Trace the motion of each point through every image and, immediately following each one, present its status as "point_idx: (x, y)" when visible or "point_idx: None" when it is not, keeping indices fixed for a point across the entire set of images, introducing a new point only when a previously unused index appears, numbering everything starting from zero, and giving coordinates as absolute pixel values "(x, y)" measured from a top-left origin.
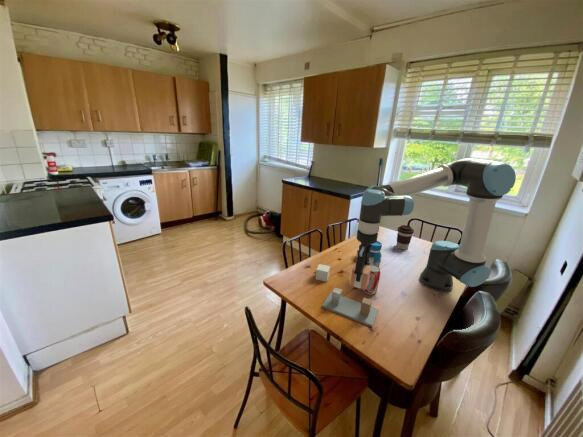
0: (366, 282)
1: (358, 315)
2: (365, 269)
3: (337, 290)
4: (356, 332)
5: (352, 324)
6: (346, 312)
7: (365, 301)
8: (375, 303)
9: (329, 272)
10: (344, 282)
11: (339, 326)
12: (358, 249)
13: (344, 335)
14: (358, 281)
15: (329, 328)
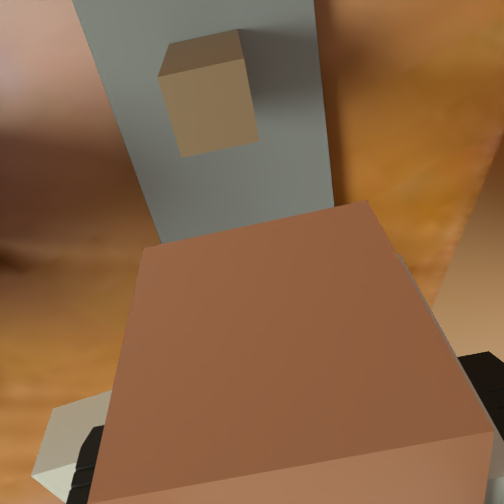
0: (408, 279)
1: (277, 95)
2: None
3: None
4: (431, 20)
5: (370, 85)
6: (306, 174)
7: (225, 118)
8: (7, 61)
9: (50, 432)
10: (18, 331)
11: (437, 140)
12: None
13: (500, 73)
14: (492, 366)
15: (485, 175)
